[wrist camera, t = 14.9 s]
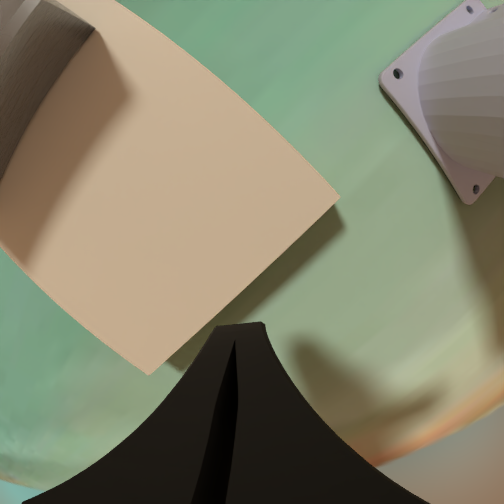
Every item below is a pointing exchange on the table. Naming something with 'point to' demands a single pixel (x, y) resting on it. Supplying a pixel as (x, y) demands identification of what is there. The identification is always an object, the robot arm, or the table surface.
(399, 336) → the table surface
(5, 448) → the table surface
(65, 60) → the cover
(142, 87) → the board
